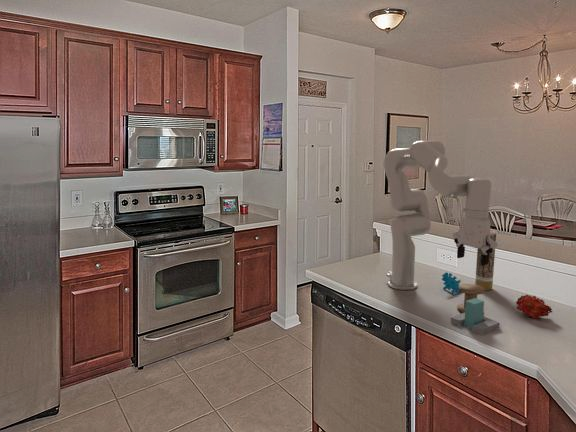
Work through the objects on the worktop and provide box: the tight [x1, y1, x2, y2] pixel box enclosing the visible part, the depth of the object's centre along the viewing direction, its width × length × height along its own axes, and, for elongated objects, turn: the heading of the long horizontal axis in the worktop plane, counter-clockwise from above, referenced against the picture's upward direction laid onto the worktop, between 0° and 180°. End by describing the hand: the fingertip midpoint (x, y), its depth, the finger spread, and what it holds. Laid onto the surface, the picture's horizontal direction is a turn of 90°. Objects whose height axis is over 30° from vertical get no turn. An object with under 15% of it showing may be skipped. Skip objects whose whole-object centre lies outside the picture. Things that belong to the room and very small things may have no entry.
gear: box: [441, 271, 462, 295], centre depth 187 cm, size 11×6×10 cm
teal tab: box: [463, 298, 485, 329], centre depth 152 cm, size 4×5×9 cm
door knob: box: [456, 283, 486, 314], centre depth 165 cm, size 9×9×9 cm
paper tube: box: [474, 229, 497, 291], centre depth 187 cm, size 7×7×25 cm
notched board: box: [450, 313, 500, 336], centre depth 152 cm, size 12×10×2 cm
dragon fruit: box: [515, 294, 553, 321], centre depth 159 cm, size 8×8×12 cm
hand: (472, 261), depth 155 cm, fingers open, 9 cm apart
